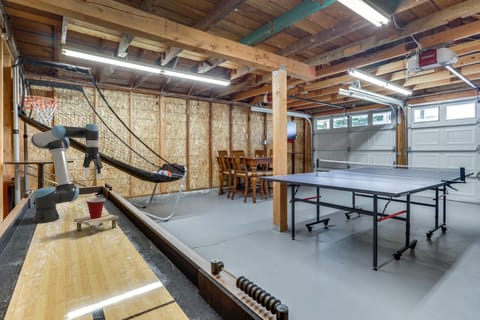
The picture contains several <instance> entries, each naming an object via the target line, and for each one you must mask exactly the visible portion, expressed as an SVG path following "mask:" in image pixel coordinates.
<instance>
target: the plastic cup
mask: <svg viewBox="0 0 480 320" xmlns="http://www.w3.org/2000/svg"><path fill="white" fill-rule="evenodd" d="M85 201H86V204H87V208H88V213H89V216H90V218H91V219H97V218H101V215H102V213H103V209H104V204H105V201H106V198H103V197H90V198H86V199H85Z"/></svg>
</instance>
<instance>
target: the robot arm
mask: <svg viewBox="0 0 480 320" xmlns="http://www.w3.org/2000/svg"><path fill="white" fill-rule="evenodd" d="M70 138H71V139H85V142H84V143H85V146H86V147H85V153H84V158H83V159H84V160H83V163H82V167H84V178H90V171H91V170H90V165H91V163H92V162H93V164H94V165H95V179H96V180H97V179H101V178H102V174H101V173H102V171H101V170H102V169H103V168H104V165H103V163H102V159H101V155H100V153H99V145H100V144H99V126H98V124H95V123H86V124H85V125H84V127H81V126H67V125H53V127H52V128H51V129H50V130H47V131H44V132H37V133H34V134H33V135H32V136H31V138H30V141H31V142H30V143H31V144H32V145H33V146H34V147H36V148H38V149H43V150H48V152H49V153H51V155H52V159H53V160H52V161H53V165H54V171H55V175H56V177H55V178H56V182H57V184H56V185H55V186H46V187H45V186H44V187H41V188H38V189H36V190H35V194H34V200H35V201H34V205H35V211H34V214H33V216H32V217H33V218H32V223H33V224H46V223H52V222H55V221H57V220H59V219H60V214H59V211H58V209H57V205H59V204H65V203H71V202H74V201H75V202H76V200H78V198H79V195H80V189H79V187H78V186H77V185H75V183H74V182H73V181H72V179H71V172H70V168H69V163H68V157H67V151H68V149H69V148H70V144H71V143H70V142H71V141H70V140H69V139H70Z"/></svg>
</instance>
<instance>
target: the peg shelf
mask: <svg viewBox="0 0 480 320" xmlns="http://www.w3.org/2000/svg"><path fill="white" fill-rule="evenodd" d="M117 220H119V215H114V214H110V213H105V212H102V215H101V218H97V219H91V218H90V215H86V216H81V217H78V218H74V219H73V222H74V223H76V232H81V231H83V230H82V225H85V226H88V227H89V236H94V235H95V226H96V225H99V226H104V223H107V222H111V229H113V230H114V228H115V229H116V228H117Z"/></svg>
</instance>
